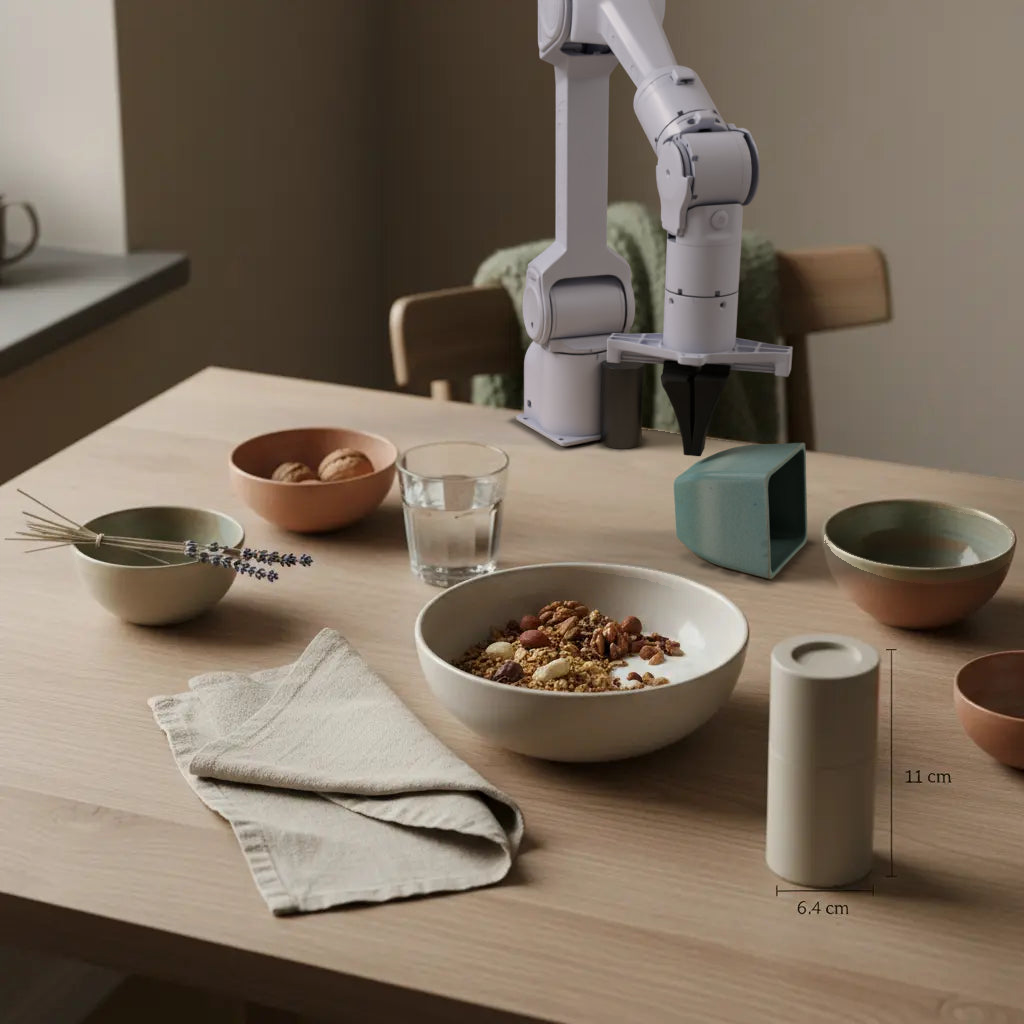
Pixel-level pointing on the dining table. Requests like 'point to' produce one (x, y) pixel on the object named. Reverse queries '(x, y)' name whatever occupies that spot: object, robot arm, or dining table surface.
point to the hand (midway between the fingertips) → (694, 451)
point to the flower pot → (745, 507)
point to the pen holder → (621, 404)
